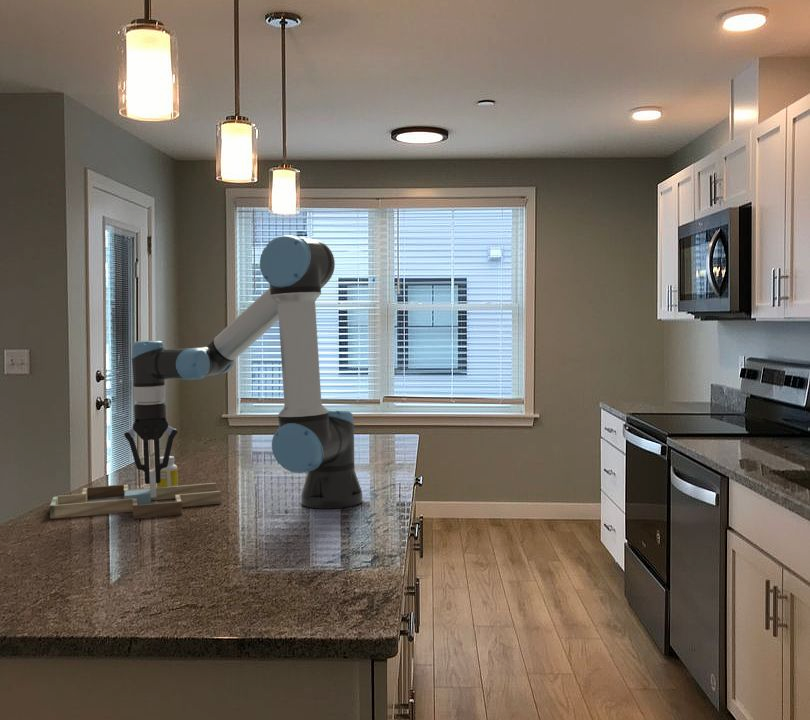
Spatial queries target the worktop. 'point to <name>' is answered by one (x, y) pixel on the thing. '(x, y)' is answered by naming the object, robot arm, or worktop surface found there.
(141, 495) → the block
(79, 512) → the wooden frame tray
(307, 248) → the robot arm
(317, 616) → the worktop surface
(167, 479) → the supplement bottle
